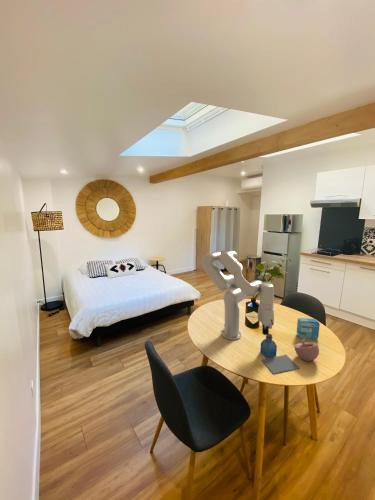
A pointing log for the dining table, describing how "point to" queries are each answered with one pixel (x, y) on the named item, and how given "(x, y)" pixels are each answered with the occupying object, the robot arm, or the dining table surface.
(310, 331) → the data package
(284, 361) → the slate mat
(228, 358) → the dining table surface
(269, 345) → the perfume bottle
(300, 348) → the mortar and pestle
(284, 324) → the dining table surface
